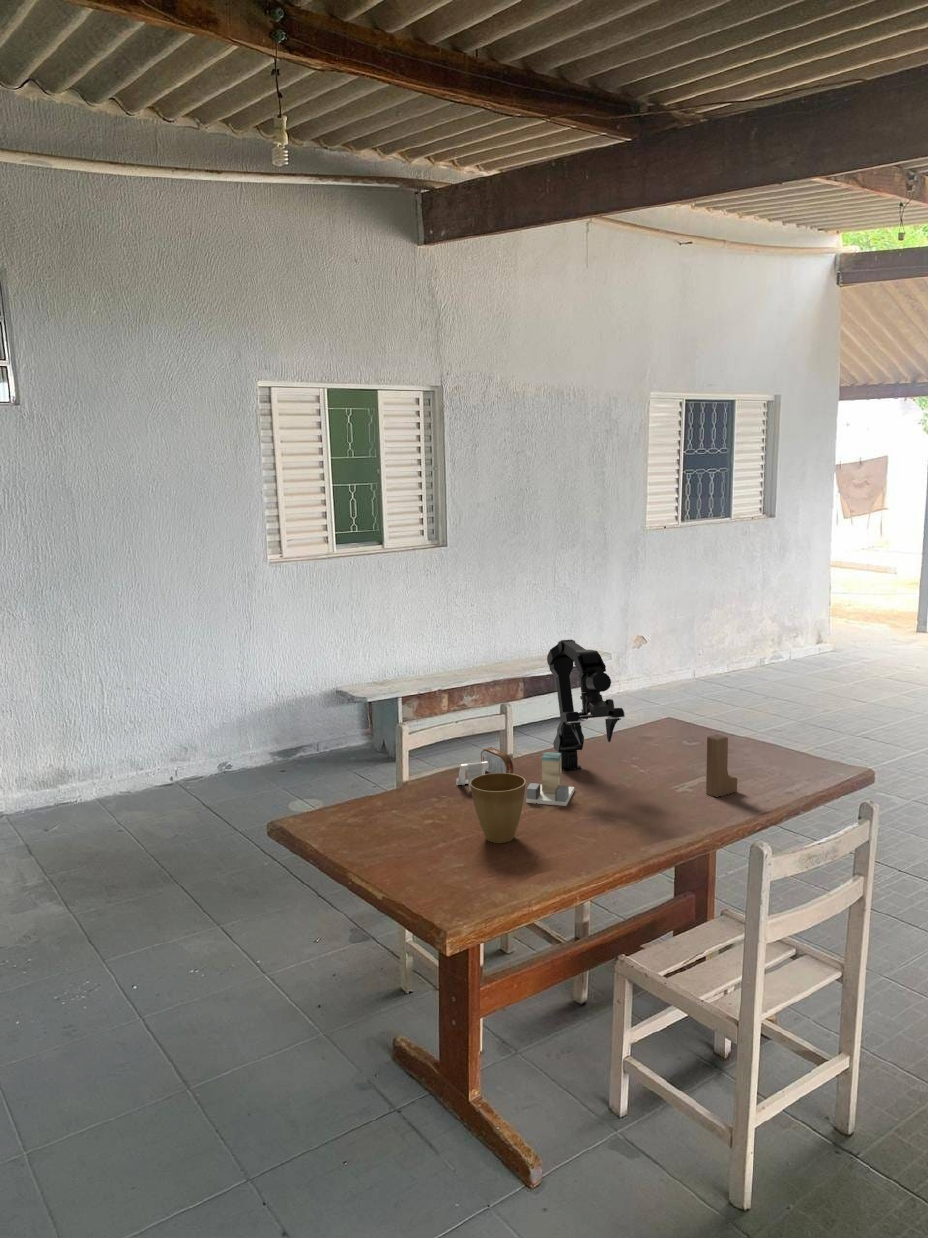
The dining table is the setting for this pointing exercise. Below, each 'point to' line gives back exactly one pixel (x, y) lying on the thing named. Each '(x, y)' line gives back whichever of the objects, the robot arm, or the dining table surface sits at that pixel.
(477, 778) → the plant pot
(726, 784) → the wooden block
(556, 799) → the block holder base
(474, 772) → the portable electronic device stand
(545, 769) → the peg
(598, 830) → the dining table surface
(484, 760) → the tin
